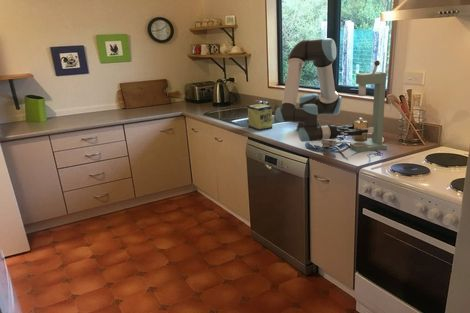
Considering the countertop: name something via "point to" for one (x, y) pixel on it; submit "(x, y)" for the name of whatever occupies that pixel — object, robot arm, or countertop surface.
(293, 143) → the countertop surface
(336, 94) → the robot arm
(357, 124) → the housing
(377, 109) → the arbor press
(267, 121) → the protein box
